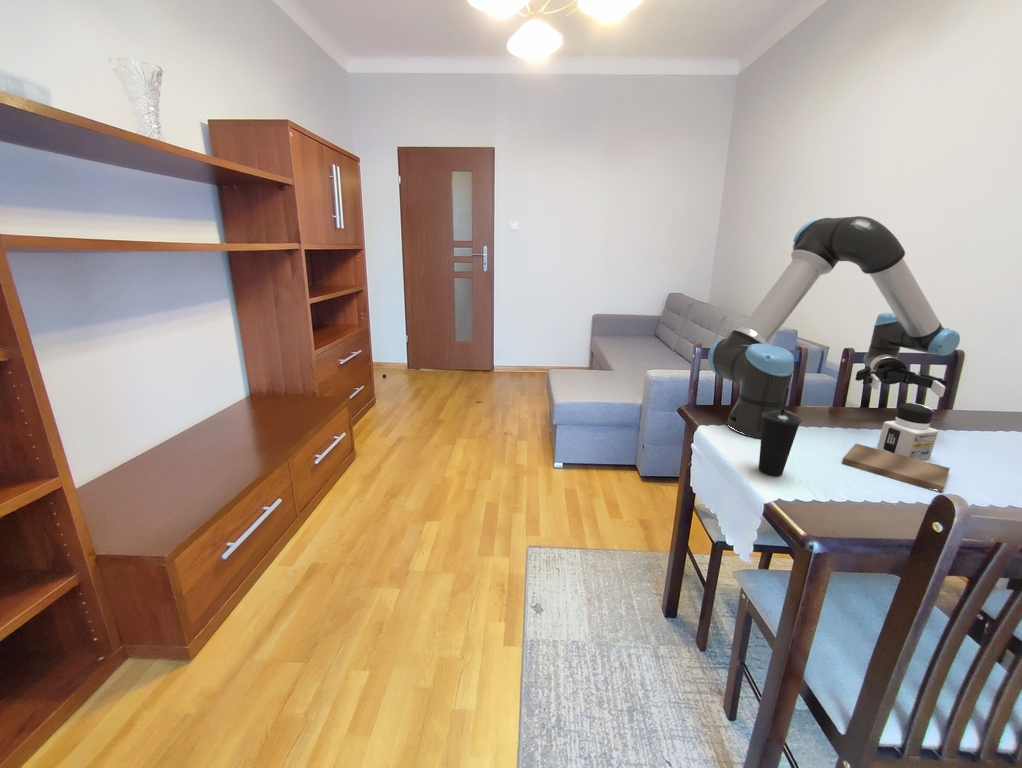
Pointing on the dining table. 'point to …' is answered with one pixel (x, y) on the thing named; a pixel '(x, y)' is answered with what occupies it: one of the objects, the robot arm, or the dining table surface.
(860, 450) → the serving board
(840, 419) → the dining table surface
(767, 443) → the drinking cup
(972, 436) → the dining table surface
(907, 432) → the container
